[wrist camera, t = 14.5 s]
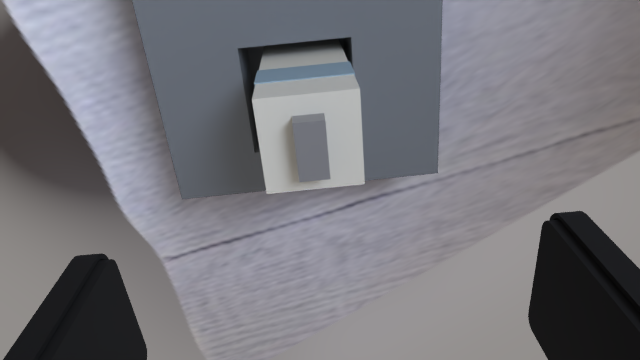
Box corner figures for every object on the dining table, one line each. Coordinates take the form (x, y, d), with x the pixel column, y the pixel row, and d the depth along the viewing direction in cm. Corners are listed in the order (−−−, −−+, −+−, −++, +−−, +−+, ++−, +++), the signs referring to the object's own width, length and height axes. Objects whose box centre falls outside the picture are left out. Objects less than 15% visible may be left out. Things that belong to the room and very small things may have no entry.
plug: (338, 35, 27) (364, 93, 17) (342, 106, 28) (368, 194, 19) (264, 42, 27) (248, 105, 17) (273, 113, 28) (264, 205, 19)
